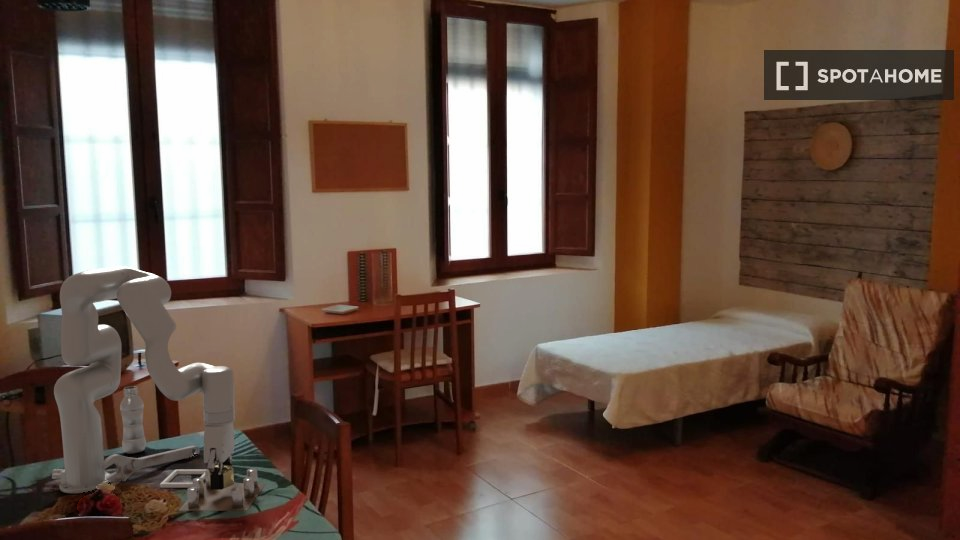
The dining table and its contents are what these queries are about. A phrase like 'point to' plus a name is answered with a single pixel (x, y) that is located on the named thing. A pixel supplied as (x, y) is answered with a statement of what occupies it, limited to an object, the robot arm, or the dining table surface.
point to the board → (222, 499)
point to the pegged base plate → (237, 492)
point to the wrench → (144, 462)
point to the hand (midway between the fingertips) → (221, 483)
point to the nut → (226, 475)
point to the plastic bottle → (132, 421)
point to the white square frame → (181, 485)
